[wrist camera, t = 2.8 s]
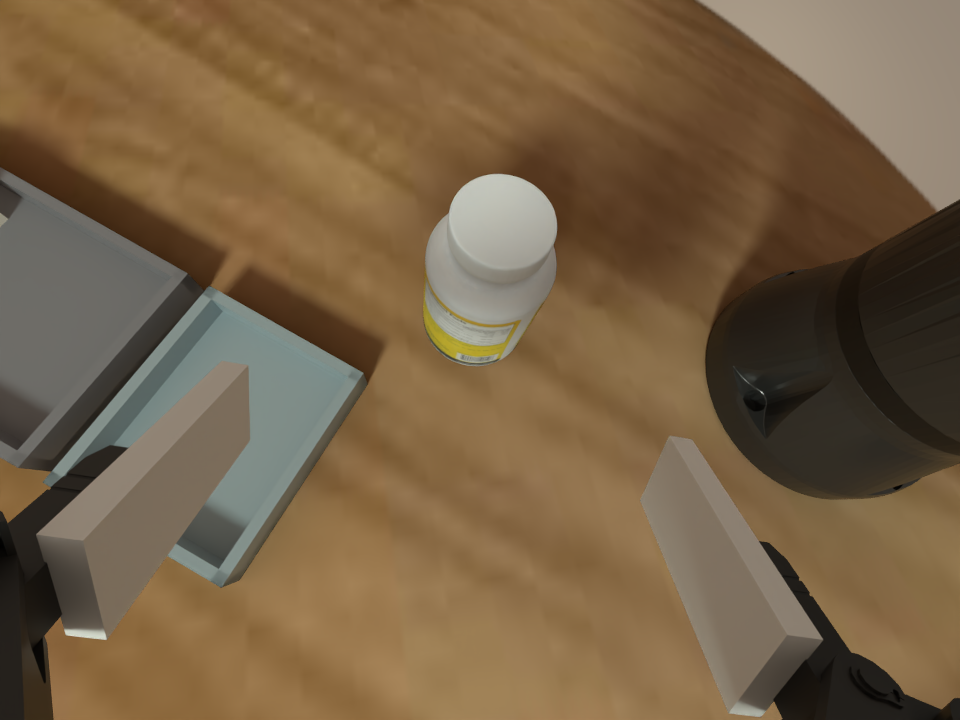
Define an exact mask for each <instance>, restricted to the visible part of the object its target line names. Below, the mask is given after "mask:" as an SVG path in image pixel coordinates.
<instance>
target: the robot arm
mask: <svg viewBox="0 0 960 720" xmlns="http://www.w3.org/2000/svg"><path fill="white" fill-rule="evenodd" d="M706 374H707V382H708V387H709V392H710V396H711V399H712V402H713V405H714V408H715V410H716V413H717V415H718V417H719V419H720V421H721V423H722V425H723V427H724V429H725V430H726V432H727V434H728V435H729V437H730V438H731V440H732V441H733V442H734V444H735V445H736V446H737V448H738V449H739V450H740V451H741V452H742V453H743V455H744V456H745V457H746V458H747V459H748V460H749V461H750V462H751V463H752V464H753V465H755V466H756V467H757V468H758V469H759V470H760V471H762V472H763V473H764V474H765V475H767V476H768V477H770V478H771V479H773V480H774V481H776V482H778V483H779V484H781V485H783V486H785V487H787V488H789V489H791V490H793V491H796V492H798V493H801V494H804V495H808V496H811V497H816V498H822V499H865V498H874V497H880V496H885V495H888V494H892V493H895V492H897V491H900V490H902V489H904V488H906V487H908V486H910V485H912V484H913V483H915V482H917V481H918V480H919V479H920V478H922V477H924V476H927V475H929V474H932V473H935V472H937V471H940V470H942V469H945V468H948V467H951V466H954V465H956V464H959V463H960V200H958V201H956V202H954V203H953V204H951V205H949V206H947V207H945V208H944V209H942V210H940V211H938V212H937V213H935V214H933V215H931V216H929V217H928V218H926V219H924V220H922V221H921V222H919V223H917V224H915V225H913V226H912V227H910V228H908V229H906V230H904V231H903V232H901V233H899V234H897V235H896V236H894V237H892V238H890V239H888V240H887V241H885V242H884V243H882V244H880V245H878V246H877V247H875V248H873V249H871V250H869V251H868V252H866V253H864V254H862V255H860V256H858V257H855V258H851V259H847V260H843V261H839V262H835V263H831V264H827V265H823V266H819V267H815V268H812V269H803V270H797V271H791V272H786V273H782V274H779V275H776V276H773V277H771V278H768V279H766V280H764V281H762V282H760V283H759V284H757V285H756V286H754V287H752V288H751V289H749V290H748V291H746V292H745V293H743V294H742V295H740V296H739V297H737V298H736V299H735V300H734V301H732V302H731V303H730V304H729V305H728V306H727V307H726V308H725V309H724V311H723V312H722V313H721V315H720V316H719V318H718V319H717V321H716V323H715V325H714V327H713V329H712V332H711V335H710V338H709V342H708V347H707V355H706ZM249 441H250V412H249V368H248V365H244V364H238V363H232V362H226V361H221V362H220V363H219V364H218V365H217V366H216V367H215V368H214V369H213V370H212V371H210V372H209V373H208V374H207V375H206V376H205V377H204V378H203V379H202V380H201V381H200V382H199V383H198V384H197V385H195V386H194V387H193V388H192V389H191V390H190V391H189V392H188V393H187V394H186V395H185V396H184V397H183V398H182V399H180V400H179V401H178V402H177V403H176V404H175V405H174V406H173V407H172V408H171V409H170V410H169V411H168V412H167V413H166V414H164V415H163V416H162V417H161V418H160V419H159V420H158V421H157V422H156V423H155V424H154V425H153V426H152V427H151V428H149V429H148V430H147V431H146V432H145V433H144V434H143V435H142V436H141V437H140V438H139V439H138V440H137V441H136V442H135V443H133V444H132V445H131V446H130V447H129V448H127V447H121V446H114V445H109V446H107V447H105V448H103V449H101V450H99V451H97V452H95V453H93V454H91V455H89V456H87V457H85V458H84V459H83V460H81V461H80V462H79V463H78V464H77V465H76V466H74V467H73V468H72V469H71V470H70V471H69V472H67V475H66V476H63V477H61V478H60V479H59V480H58V481H57V482H56V483H54V484H53V485H52V486H51V489H50V490H46V491H45V492H44V493H43V494H42V495H40V496H39V497H38V498H37V499H36V500H35V501H33V502H32V503H31V504H30V505H29V506H28V507H26V508H25V509H24V510H23V511H22V512H21V513H19V514H18V515H17V516H16V517H15V518H14V519H12V520H11V521H10V522H9V523H8V524H7V521H6V519H5V517H4V515H3V513H2V512H1V511H0V720H53V708H52V696H51V684H50V672H49V660H48V648H47V642H46V639H45V636H44V635H45V634H46V633H47V632H48V631H49V629H50V628H51V627H52V626H53V625H54V623H55V622H56V621H57V620H58V619H59V617H60V616H61V620H62V623H63V627H64V630H65V633H66V635H69V636H78V637H86V638H95V639H103V640H107V639H108V637H109V636H110V635H111V633H112V632H113V631H114V629H115V628H116V626H117V625H118V624H119V622H120V621H121V619H122V618H123V617H124V615H125V614H126V612H127V611H128V610H129V608H130V607H131V605H132V604H133V603H134V601H135V600H136V598H137V597H138V596H139V594H140V593H141V592H142V590H143V589H144V587H145V586H146V585H147V583H148V582H149V580H150V579H151V578H152V576H153V575H154V573H155V572H156V571H157V569H158V568H159V566H160V565H161V564H162V562H163V561H164V559H165V558H166V557H167V555H168V554H169V553H170V551H171V550H172V548H173V547H174V546H175V544H176V543H177V541H178V540H179V539H180V537H181V536H182V534H183V533H184V532H185V530H186V529H187V527H188V526H189V525H190V523H191V522H192V520H193V519H194V518H195V516H196V515H197V514H198V512H199V511H200V509H201V508H202V507H203V505H204V504H205V502H206V501H207V500H208V498H209V497H210V495H211V494H212V493H213V491H214V490H215V488H216V487H217V486H218V484H219V483H220V481H221V480H222V479H223V477H224V476H225V475H226V473H227V472H228V470H229V469H230V468H231V466H232V465H233V463H234V462H235V461H236V459H237V458H238V456H239V455H240V454H241V452H242V451H243V449H244V448H245V447H246V445H247V444H248V443H249ZM640 501H641V504H642V506H643V509H644V511H645V513H646V516H647V518H648V521H649V523H650V526H651V528H652V530H653V533H654V535H655V538H656V540H657V542H658V545H659V547H660V550H661V552H662V554H663V557H664V559H665V562H666V564H667V566H668V569H669V571H670V574H671V576H672V578H673V581H674V583H675V586H676V588H677V591H678V593H679V595H680V598H681V600H682V603H683V605H684V607H685V610H686V612H687V615H688V617H689V619H690V622H691V624H692V627H693V629H694V631H695V634H696V636H697V639H698V641H699V643H700V646H701V648H702V651H703V653H704V655H705V658H706V660H707V663H708V665H709V668H710V670H711V672H712V675H713V677H714V680H715V682H716V684H717V687H718V689H719V692H720V694H721V696H722V699H723V701H724V704H725V706H726V708H727V711H728V713H731V714H739V715H748V716H756V717H761V716H762V715H763V714H764V713H765V711H766V710H767V709H768V708H769V706H770V705H771V704H772V703H773V701H774V702H775V704H776V706H777V708H778V710H779V712H780V714H781V716H782V718H783V719H782V720H960V698H954V699H953V700H952V701H951V702H950V703H949V704H947V705H946V706H945V707H944V708H943V709H942V710H941V709H939V708H936V707H934V706H931V705H929V704H927V703H924V702H922V701H920V700H917V699H915V698H912V697H910V696H908V695H905V694H904V693H903V691H902V690H901V688H900V687H899V685H898V684H897V683H896V682H895V681H894V680H893V679H892V678H891V677H890V676H889V675H888V674H887V672H885V671H884V670H883V669H881V668H880V667H879V666H877V665H876V664H875V663H873V662H872V661H870V660H868V659H866V658H864V657H863V656H861V655H859V654H855V653H851V652H850V650H849V649H848V647H847V646H846V644H845V643H844V642H843V640H842V639H841V637H840V636H839V634H838V633H837V631H836V630H835V629H834V627H833V626H832V624H831V623H830V621H829V620H828V618H827V617H826V616H825V614H824V613H823V611H822V610H821V608H820V607H819V605H818V604H817V603H816V601H815V600H814V598H813V597H812V596H810V595H809V593H810V592H809V591H808V590H807V588H806V587H805V585H804V584H803V582H802V581H799V577H798V575H797V574H796V572H795V571H794V569H793V568H792V566H791V565H790V564H789V562H788V561H787V559H786V558H785V557H783V556H782V555H781V554H780V553H779V552H778V551H777V550H776V549H775V548H774V547H773V546H772V545H771V544H770V543H768V542H761V541H758V539H757V538H756V536H755V535H754V533H753V532H752V530H751V529H750V527H749V526H748V524H747V523H746V521H745V520H744V518H743V516H742V515H741V513H740V512H739V510H738V509H737V507H736V506H735V504H734V503H733V501H732V500H731V498H730V497H729V495H728V494H727V492H726V491H725V489H724V488H723V486H722V484H721V483H720V481H719V480H718V478H717V477H716V475H715V474H714V472H713V471H712V469H711V468H710V466H709V465H708V463H707V462H706V460H705V459H704V457H703V456H702V454H701V452H700V451H699V449H698V448H697V446H696V445H695V443H694V442H693V440H692V439H687V438H681V437H675V436H669V437H668V439H667V442H666V444H665V446H664V448H663V451H662V453H661V455H660V457H659V459H658V462H657V464H656V466H655V468H654V471H653V473H652V475H651V477H650V479H649V482H648V484H647V486H646V488H645V491H644V493H643V495H642V497H641V500H640Z"/></svg>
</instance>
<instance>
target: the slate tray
mask: <svg viewBox="0 0 960 720" xmlns="http://www.w3.org/2000/svg"><path fill="white" fill-rule="evenodd" d="M221 361H226V362H232V363H238V364H244V365H248V368H249V412H250V441H249V443H248V444H247V445H246V447H245V448H244V449H243V451H242V452H241V454H240V455H239V456H238V458H237V459H236V461H235V462H234V463H233V465H232V466H231V468H230V469H229V470H228V472H227V473H226V475H225V476H224V477H223V479H222V480H221V481H220V483H219V484H218V486H217V487H216V488H215V490H214V491H213V493H212V494H211V495H210V497H209V498H208V500H207V501H206V502H205V504H204V505H203V507H202V508H201V509H200V511H199V512H198V514H197V515H196V516H195V518H194V519H193V520H192V522H191V523H190V525H189V526H188V527H187V529H186V530H185V532H184V533H183V534H182V536H181V537H180V539H179V540H178V541H177V543H176V544H175V546H174V547H173V548H172V550H171V551H170V553H169V554H168V555H167V556H169V557H170V558H172V559H174V560H175V561H177V562H179V563H180V564H182V565H184V566H185V567H187V568H189V569H191V570H192V571H194V572H196V573H197V574H199V575H201V576H202V577H204V578H206V579H208V580H209V581H211V582H213V583H214V584H216V585H218V586H219V587H221V588H222V587H224V586H227V585H229V584H232V583H234V582H237V581H239V580H240V579H241V577H242V576H243V574H244V573H245V571H246V569H247V568H248V566H249V565H250V563H251V562H252V560H253V559H254V557H255V556H256V554H257V553H258V551H259V550H260V548H261V547H262V545H263V544H264V542H265V540H266V539H267V537H268V536H269V534H270V533H271V531H272V530H273V528H274V527H275V525H276V524H277V522H278V521H279V519H280V518H281V516H282V514H283V513H284V511H285V510H286V508H287V507H288V505H289V504H290V502H291V501H292V499H293V498H294V496H295V495H296V493H297V492H298V490H299V488H300V487H301V485H302V484H303V482H304V481H305V479H306V478H307V476H308V475H309V473H310V472H311V470H312V469H313V467H314V466H315V464H316V462H317V461H318V459H319V458H320V456H321V455H322V453H323V452H324V450H325V449H326V447H327V446H328V444H329V443H330V441H331V440H332V438H333V436H334V435H335V433H336V432H337V430H338V429H339V427H340V426H341V424H342V423H343V421H344V420H345V418H346V417H347V415H348V414H349V412H350V410H351V409H352V407H353V406H354V404H355V403H356V401H357V400H358V398H359V397H360V395H361V394H362V392H363V391H364V389H365V388H366V386H367V381H366V379H365V376H364V373H363V372H361V371H359V370H357V369H355V368H354V367H352V366H350V365H348V364H347V363H345V362H343V361H341V360H340V359H338V358H336V357H334V356H333V355H331V354H329V353H327V352H325V351H324V350H322V349H320V348H318V347H317V346H315V345H313V344H311V343H310V342H308V341H306V340H304V339H303V338H301V337H299V336H297V335H295V334H294V333H292V332H290V331H288V330H287V329H285V328H283V327H281V326H280V325H278V324H276V323H274V322H272V321H271V320H269V319H267V318H265V317H264V316H262V315H260V314H258V313H257V312H255V311H253V310H251V309H250V308H248V307H246V306H244V305H242V304H241V303H239V302H237V301H235V300H234V299H232V298H230V297H228V296H227V295H225V294H223V293H221V292H220V291H218V290H216V289H214V288H212V287H211V286H209V287H208V288H207V289H206V290H205V291H204V292H203V294H202V295H201V296H200V297H199V298H198V300H197V301H196V302H195V303H194V304H193V305H192V307H191V308H190V309H189V310H188V311H187V312H186V314H185V315H184V316H183V317H182V318H181V320H180V321H179V322H178V323H177V324H176V325H175V327H174V328H173V329H172V330H171V331H170V333H169V334H168V335H167V336H166V337H165V338H164V340H163V341H162V342H161V343H160V344H159V346H158V347H157V348H156V349H155V350H154V351H153V353H152V354H151V355H150V356H149V357H148V358H147V360H146V361H145V362H144V363H143V364H142V366H141V367H140V368H139V369H138V370H137V371H136V373H135V374H134V375H133V376H132V377H131V379H130V380H129V381H128V382H127V383H126V384H125V386H124V387H123V388H122V389H121V390H120V391H119V393H118V394H117V395H116V396H115V397H114V399H113V400H112V401H111V402H110V403H109V404H108V406H107V407H106V408H105V409H104V410H103V412H102V413H101V414H100V415H99V416H98V417H97V419H96V420H95V421H94V422H93V423H92V425H91V426H90V427H89V428H88V429H87V430H86V432H85V433H84V434H83V435H82V436H81V437H80V439H79V440H78V441H77V442H76V443H75V445H74V446H73V447H72V448H71V449H70V450H69V452H68V453H67V454H66V455H65V456H64V458H63V459H62V460H61V461H60V462H59V463H58V465H57V466H56V467H55V468H54V469H53V470H52V472H51V473H50V474H49V475H48V476H47V478H46V479H45V480H44V481H43V483H45V484H46V485H48V486H50V487H51V486H52V485H53V484H54V483H56V482H57V481H58V480H59V479H60V478H61V477H63V476H66V475H67V472H69V471H70V470H71V469H72V468H73V467H74V466H76V465H77V464H78V463H79V462H80V461H81V460H83V459H84V458H85V457H87V456H89V455H91V454H93V453H95V452H97V451H99V450H101V449H103V448H105V447H107V446H109V445H114V446H121V447H127V448H129V447H130V446H131V445H132V444H133V443H135V442H136V441H137V440H138V439H139V438H140V437H141V436H142V435H143V434H144V433H145V432H146V431H147V430H148V429H149V428H151V427H152V426H153V425H154V424H155V423H156V422H157V421H158V420H159V419H160V418H161V417H162V416H163V415H164V414H166V413H167V412H168V411H169V410H170V409H171V408H172V407H173V406H174V405H175V404H176V403H177V402H178V401H179V400H180V399H182V398H183V397H184V396H185V395H186V394H187V393H188V392H189V391H190V390H191V389H192V388H193V387H194V386H195V385H197V384H198V383H199V382H200V381H201V380H202V379H203V378H204V377H205V376H206V375H207V374H208V373H209V372H210V371H212V370H213V369H214V368H215V367H216V366H217V365H218V364H219V363H220V362H221Z"/></svg>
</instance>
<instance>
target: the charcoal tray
mask: <svg viewBox="0 0 960 720" xmlns="http://www.w3.org/2000/svg"><path fill="white" fill-rule="evenodd" d="M0 213H1V214H2V215H4V216H5V217H6V218H8V220H7V221H6V222H5V223H4V224H3V225H2V226H1V227H0V457H1V458H2V459H4V460H6V461H7V462H9V463H11V464H12V465H14V466H16V467H18V468H25V469H34V470H43V471H52V470H53V469H54V468H55V467H56V466H57V465H58V463H59V462H60V461H61V460H62V459H63V458H64V456H65V455H66V454H67V453H68V452H69V450H70V449H71V448H72V447H73V446H74V445H75V443H76V442H77V441H78V440H79V439H80V437H81V436H82V435H83V434H84V433H85V432H86V430H87V429H88V428H89V427H90V426H91V425H92V423H93V422H94V421H95V420H96V419H97V417H98V416H99V415H100V414H101V413H102V412H103V410H104V409H105V408H106V407H107V406H108V404H109V403H110V402H111V401H112V400H113V399H114V397H115V396H116V395H117V394H118V393H119V391H120V390H121V389H122V388H123V387H124V386H125V384H126V383H127V382H128V381H129V380H130V379H131V377H132V376H133V375H134V374H135V373H136V371H137V370H138V369H139V368H140V367H141V366H142V364H143V363H144V362H145V361H146V360H147V358H148V357H149V356H150V355H151V354H152V353H153V351H154V350H155V349H156V348H157V347H158V346H159V344H160V343H161V342H162V341H163V340H164V338H165V337H166V336H167V335H168V334H169V333H170V331H171V330H172V329H173V328H174V327H175V325H176V324H177V323H178V322H179V321H180V320H181V318H182V317H183V316H184V315H185V314H186V312H187V311H188V310H189V309H190V308H191V307H192V305H193V304H194V303H195V302H196V301H197V300H198V298H199V297H200V296H201V295H202V294H203V292H204V290H203V289H202V288H201V287H200V286H199V285H198V284H197V283H196V282H195V281H194V280H193V278H192V277H191V276H190V275H189V274H188V273H186V272H184V271H182V270H181V269H179V268H177V267H175V266H174V265H172V264H170V263H168V262H167V261H165V260H163V259H161V258H160V257H158V256H156V255H154V254H152V253H151V252H149V251H147V250H145V249H144V248H142V247H140V246H138V245H137V244H135V243H133V242H131V241H129V240H128V239H126V238H124V237H122V236H121V235H119V234H117V233H115V232H114V231H112V230H110V229H108V228H107V227H105V226H103V225H101V224H99V223H98V222H96V221H94V220H92V219H91V218H89V217H87V216H85V215H84V214H82V213H80V212H78V211H77V210H75V209H73V208H71V207H69V206H68V205H66V204H64V203H62V202H61V201H59V200H57V199H55V198H54V197H52V196H50V195H48V194H47V193H45V192H43V191H41V190H39V189H38V188H36V187H34V186H32V185H31V184H29V183H27V182H25V181H24V180H22V179H20V178H18V177H16V176H15V175H13V174H11V173H9V172H8V171H6V170H4V169H2V168H1V167H0Z"/></svg>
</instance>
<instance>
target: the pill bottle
mask: <svg viewBox="0 0 960 720" xmlns="http://www.w3.org/2000/svg"><path fill="white" fill-rule="evenodd" d="M556 236H557V219H556V215H555V211H554V209H553V206H552V204H551V203H550V201H549V200H548V198H547V197H546V196H545V195H544V193H543V192H542V191H541V190H539V189H538V188H537V187H536V186H535V185H533V184H531V183H530V182H528V181H526V180H524V179H522V178H519V177H516V176H512V175H506V174H489V175H485V176H481V177H478V178H476V179H474V180H472V181H470V182H468V183H467V184H466V185H464V186H463V187H462V188H461V189H460V190H459V191H458V193H457V194H456V195H455V197H454V199H453V201H452V203H451V206H450V210H449V213H448V214H447V215H446V216H444V217H443V218H442V219H441V221H440V222H439V223H438V224H437V225H436V227H435V228H434V230H433V232H432V234H431V236H430V238H429V241H428V244H427V248H426V255H425V277H424V307H423V319H424V326H425V330H426V333H427V335H428V337H429V339H430V341H431V343H432V344H433V345H434V347H435V348H436V349H437V350H438V351H439V352H440V353H441V354H443V355H444V356H445V357H447V358H448V359H450V360H452V361H454V362H457V363H459V364H463V365H469V366H483V365H488V364H492V363H495V362H497V361H499V360H501V359H503V358H504V357H506V356H507V355H508V354H509V353H510V352H512V350H513V349H514V348H515V347H516V346H517V344H518V343H519V341H520V339H521V338H522V336H523V335H524V333H525V331H526V330H527V328H528V327H529V325H530V324H531V322H532V321H533V319H534V317H535V316H536V314H537V313H538V311H539V310H540V308H541V306H542V305H543V303H544V302H545V300H546V298H547V296H548V294H549V293H550V291H551V289H552V286H553V283H554V280H555V276H556V269H557V262H556V253H555V249H554V242H555V240H556Z"/></svg>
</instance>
